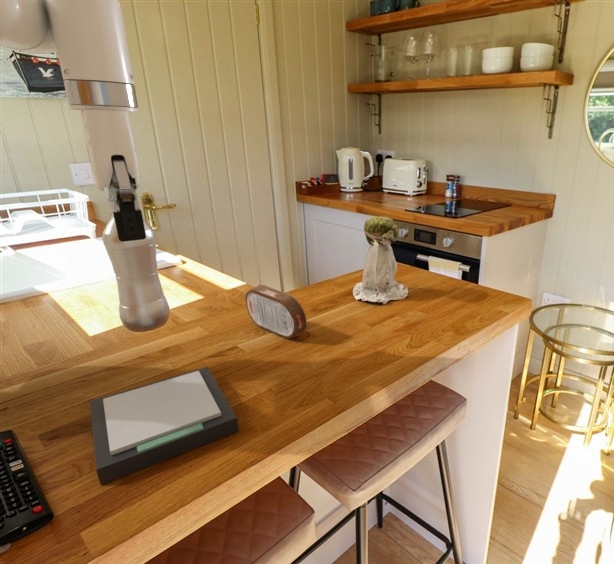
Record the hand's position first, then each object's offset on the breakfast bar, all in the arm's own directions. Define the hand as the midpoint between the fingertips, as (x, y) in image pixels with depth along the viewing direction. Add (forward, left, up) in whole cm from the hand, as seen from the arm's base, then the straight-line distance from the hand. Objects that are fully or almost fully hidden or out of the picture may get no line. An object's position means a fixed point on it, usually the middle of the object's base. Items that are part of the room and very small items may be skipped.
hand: (129, 233), depth 61 cm
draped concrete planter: (+47, +6, -23) cm, 53 cm away
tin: (+20, +2, -23) cm, 31 cm away
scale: (-2, -15, -23) cm, 27 cm away
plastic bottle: (0, 0, -15) cm, 15 cm away
